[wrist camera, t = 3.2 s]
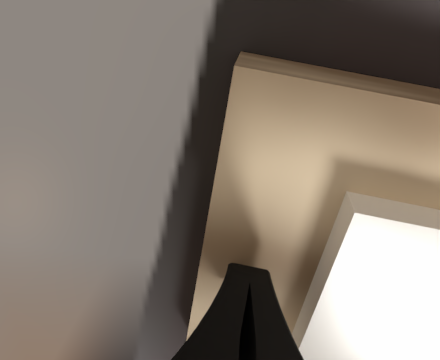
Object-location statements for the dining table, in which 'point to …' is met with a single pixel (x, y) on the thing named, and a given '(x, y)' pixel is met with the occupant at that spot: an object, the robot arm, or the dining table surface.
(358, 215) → the card
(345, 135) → the board
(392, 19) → the dining table surface
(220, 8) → the dining table surface
